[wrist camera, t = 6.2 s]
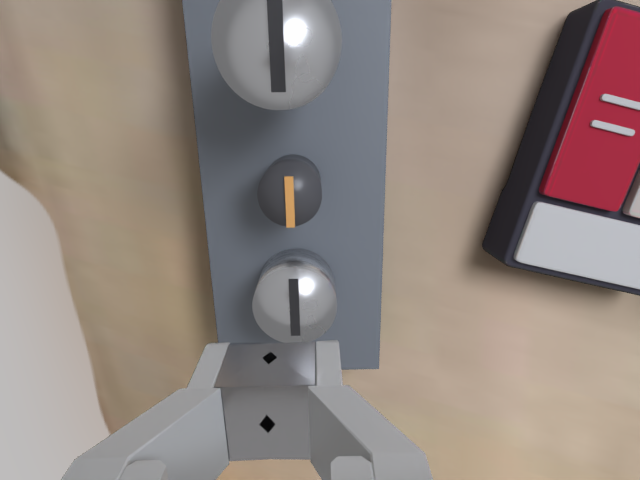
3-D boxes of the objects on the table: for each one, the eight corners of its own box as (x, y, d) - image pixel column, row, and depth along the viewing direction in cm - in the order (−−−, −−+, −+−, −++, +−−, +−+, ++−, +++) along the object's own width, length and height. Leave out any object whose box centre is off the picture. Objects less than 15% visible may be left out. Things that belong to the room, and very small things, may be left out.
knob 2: (265, 229, 27) (248, 269, 21) (331, 228, 27) (336, 268, 21) (268, 290, 29) (254, 346, 22) (332, 288, 29) (337, 344, 22)
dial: (264, 154, 22) (254, 164, 18) (320, 153, 22) (321, 162, 18) (267, 209, 23) (258, 228, 19) (321, 208, 23) (322, 227, 19)
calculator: (806, 45, 21) (677, 307, 25) (725, 59, 25) (625, 282, 29) (610, -11, 20) (507, 269, 24) (559, 13, 25) (478, 249, 28)
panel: (197, -48, 22) (173, -79, 19) (380, -50, 23) (394, -82, 19) (233, 338, 30) (221, 371, 26) (370, 335, 30) (378, 368, 26)
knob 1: (241, 13, 20) (203, -34, 13) (333, 12, 20) (342, -37, 13) (247, 109, 21) (216, 111, 14) (333, 108, 21) (342, 109, 14)
